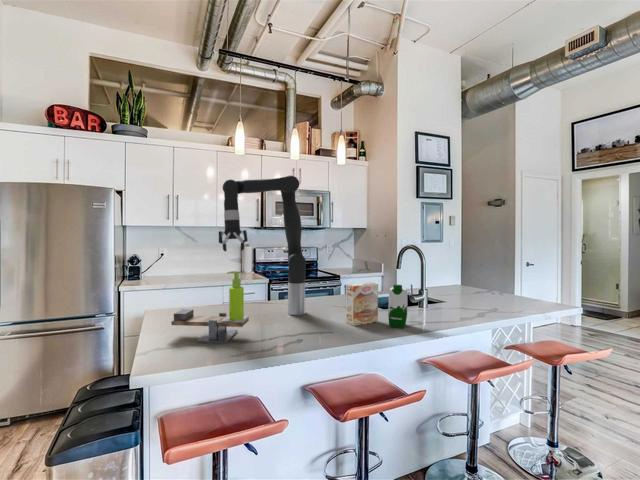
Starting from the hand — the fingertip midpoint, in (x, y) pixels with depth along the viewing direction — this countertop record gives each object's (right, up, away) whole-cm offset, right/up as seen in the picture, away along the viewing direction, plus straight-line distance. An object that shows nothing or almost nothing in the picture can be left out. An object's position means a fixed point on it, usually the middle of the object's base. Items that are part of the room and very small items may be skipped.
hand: (233, 250), depth 177 cm
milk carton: (+82, -36, -9) cm, 90 cm away
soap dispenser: (+8, -28, -30) cm, 42 cm away
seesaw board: (-2, -30, -29) cm, 42 cm away
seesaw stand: (0, -36, -29) cm, 46 cm away
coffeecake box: (+65, -36, -4) cm, 74 cm away
